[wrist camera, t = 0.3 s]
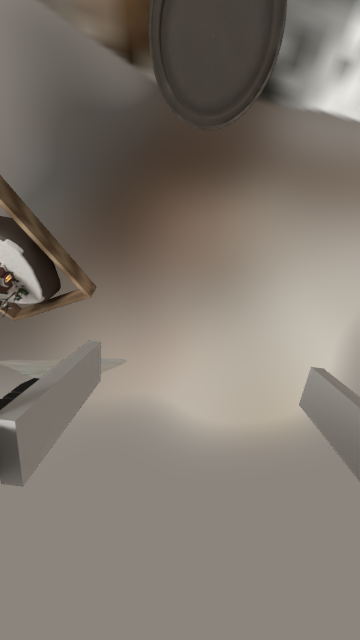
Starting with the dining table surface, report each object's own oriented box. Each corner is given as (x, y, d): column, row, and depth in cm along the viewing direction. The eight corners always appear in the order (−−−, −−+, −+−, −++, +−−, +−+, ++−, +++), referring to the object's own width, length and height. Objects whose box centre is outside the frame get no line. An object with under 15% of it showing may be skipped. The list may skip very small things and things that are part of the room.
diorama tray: (-96, 222, 43) (-115, 230, 41) (-12, 161, 35) (-30, 166, 32) (22, 311, 62) (14, 321, 59) (96, 286, 53) (90, 297, 50)
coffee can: (161, 105, 29) (141, 109, 19) (178, -37, 21) (160, -147, 12) (230, 129, 30) (245, 145, 20) (270, 4, 22) (322, -64, 13)
